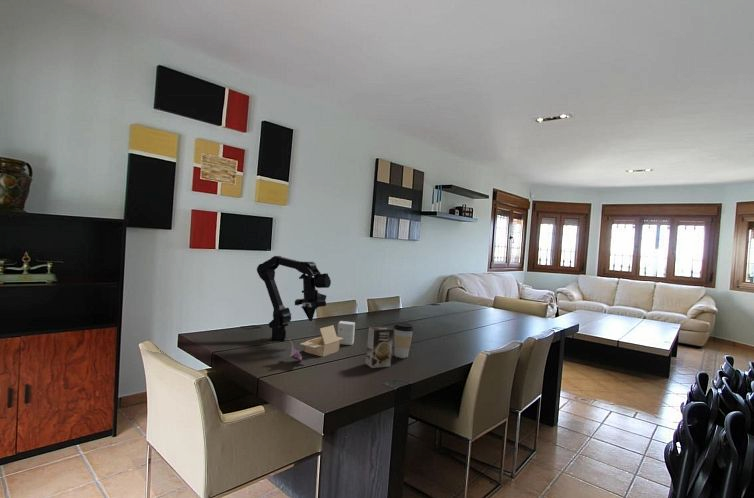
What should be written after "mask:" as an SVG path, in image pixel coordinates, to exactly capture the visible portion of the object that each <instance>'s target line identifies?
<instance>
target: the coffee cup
mask: <svg viewBox="0 0 754 498" xmlns="http://www.w3.org/2000/svg"><path fill="white" fill-rule="evenodd" d="M393 330H394V333H393V338H394V339H393V341H394V356H395V357H396V358H398V357H399V359H407V358H408V357H409V351H410V348H411V343H412V337H413V331H414V327H413V325H412V324H410V323H408V322H396V323H395V325H393ZM406 357H407V358H406Z"/></svg>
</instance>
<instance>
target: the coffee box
mask: <svg viewBox="0 0 754 498" xmlns="http://www.w3.org/2000/svg"><path fill="white" fill-rule="evenodd" d="M394 332H395V329H394V328H392V327H388V326H369V327H368V335H367V344H366V345H367V346H366V353H365V355H366V357H365V365H367V366H368V367H370V368H371V369H375V368H376V369H377V368H388V367H389V368H390V367H391V363H392V362H391V361H392V352H393V350H392V349H393V341H394V339H393V338H394Z"/></svg>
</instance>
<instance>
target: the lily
mask: <svg viewBox="0 0 754 498" xmlns="http://www.w3.org/2000/svg"><path fill="white" fill-rule="evenodd" d="M288 340H289V341H290V343H291V353H290V355H289V357H288V358H287V359H286V361H285V363H284V365H286V363H287V362H288V361H289V359H290V358H291V357H294V358H297V359H299V360H300V362H302V364H303V365H305V364H304V362H303V359H302V358H303V356H302V354H301V353H300V352H301V350H299V349H295V347H294V344H293V342H292V341H291V339H290V338H288Z"/></svg>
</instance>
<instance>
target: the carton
mask: <svg viewBox="0 0 754 498" xmlns="http://www.w3.org/2000/svg"><path fill="white" fill-rule="evenodd" d="M337 338H338V340H342V339H344V338H341V337H337ZM300 345H302V346H304V353H308V354H311V355H315V356H319V357H322V358H323V357H326V356H329V355H331V354H334V353H337V352H340V345H341V344H340V341H336V342H333V343H329V344H326V345H325V344H324V341H323V338H322V336H320V337H315V338H313V339H308V340H306V341H304V342H301V343H300Z"/></svg>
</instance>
